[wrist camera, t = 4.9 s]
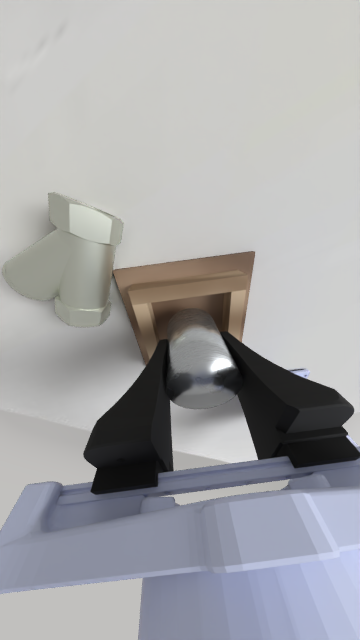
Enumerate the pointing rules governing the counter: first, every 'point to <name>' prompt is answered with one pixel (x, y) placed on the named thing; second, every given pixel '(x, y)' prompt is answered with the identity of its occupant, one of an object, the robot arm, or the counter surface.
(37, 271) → the pipe fitting
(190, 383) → the silver metal cylinder
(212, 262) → the cradle board
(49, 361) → the counter surface
